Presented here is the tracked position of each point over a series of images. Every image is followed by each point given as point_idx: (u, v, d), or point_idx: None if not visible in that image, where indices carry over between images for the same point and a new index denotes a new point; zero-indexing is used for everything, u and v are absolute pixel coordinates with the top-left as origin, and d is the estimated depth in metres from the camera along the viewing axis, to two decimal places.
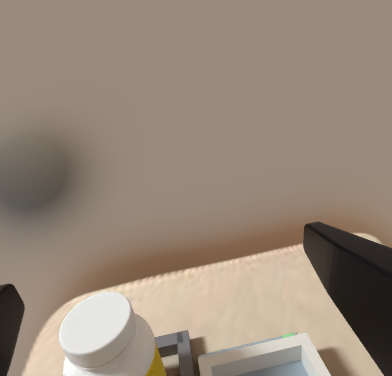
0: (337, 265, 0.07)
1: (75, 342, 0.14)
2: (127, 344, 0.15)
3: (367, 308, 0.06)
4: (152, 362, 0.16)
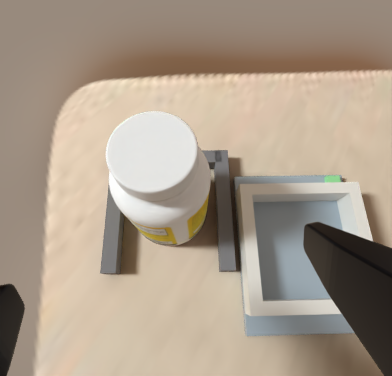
0: (337, 265, 0.07)
1: (130, 175, 0.11)
2: (189, 183, 0.12)
3: (367, 308, 0.06)
4: (207, 195, 0.14)
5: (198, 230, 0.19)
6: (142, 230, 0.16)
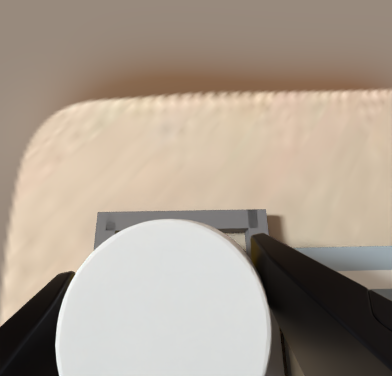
0: (273, 279, 0.07)
1: None
2: None
3: (296, 325, 0.06)
4: None
5: None
6: None
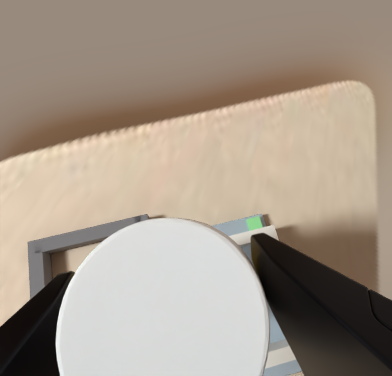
0: (273, 279, 0.07)
1: None
2: None
3: (296, 324, 0.06)
4: None
5: None
6: None
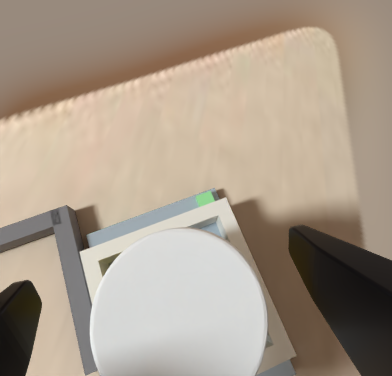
0: (319, 269, 0.07)
1: None
2: None
3: (347, 313, 0.06)
4: None
5: None
6: None
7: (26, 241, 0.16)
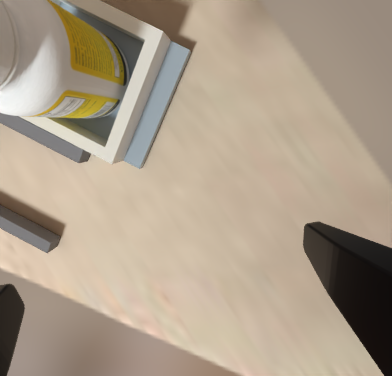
0: (337, 265, 0.07)
1: None
2: (12, 27, 0.09)
3: (367, 308, 0.06)
4: (64, 25, 0.11)
5: (124, 70, 0.17)
6: (65, 115, 0.14)
7: None
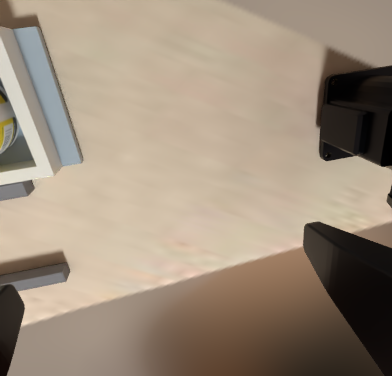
0: (337, 265, 0.07)
1: None
2: None
3: (367, 308, 0.06)
4: None
5: None
6: None
7: None
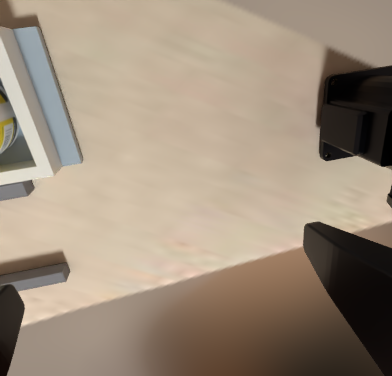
0: (337, 265, 0.07)
1: None
2: None
3: (367, 308, 0.06)
4: None
5: None
6: None
7: None
